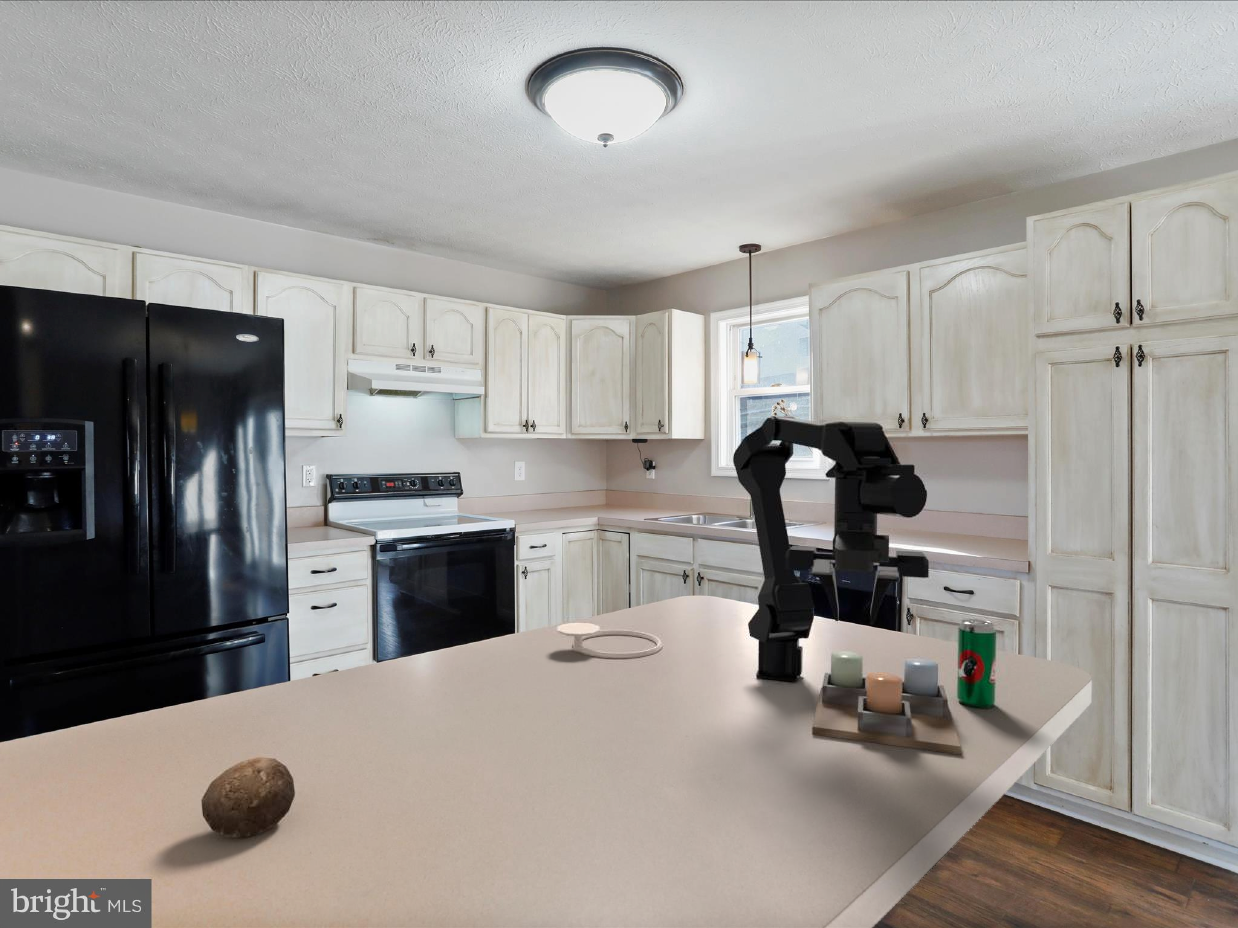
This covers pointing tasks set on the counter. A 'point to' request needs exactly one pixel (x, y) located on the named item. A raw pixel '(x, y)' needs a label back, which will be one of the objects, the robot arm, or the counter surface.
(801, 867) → the counter surface
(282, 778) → the brown speckled pebble
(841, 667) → the sage button
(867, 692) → the terracotta button
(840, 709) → the walnut button board
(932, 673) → the slate-blue button
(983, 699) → the soda can
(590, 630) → the hand towel holder
